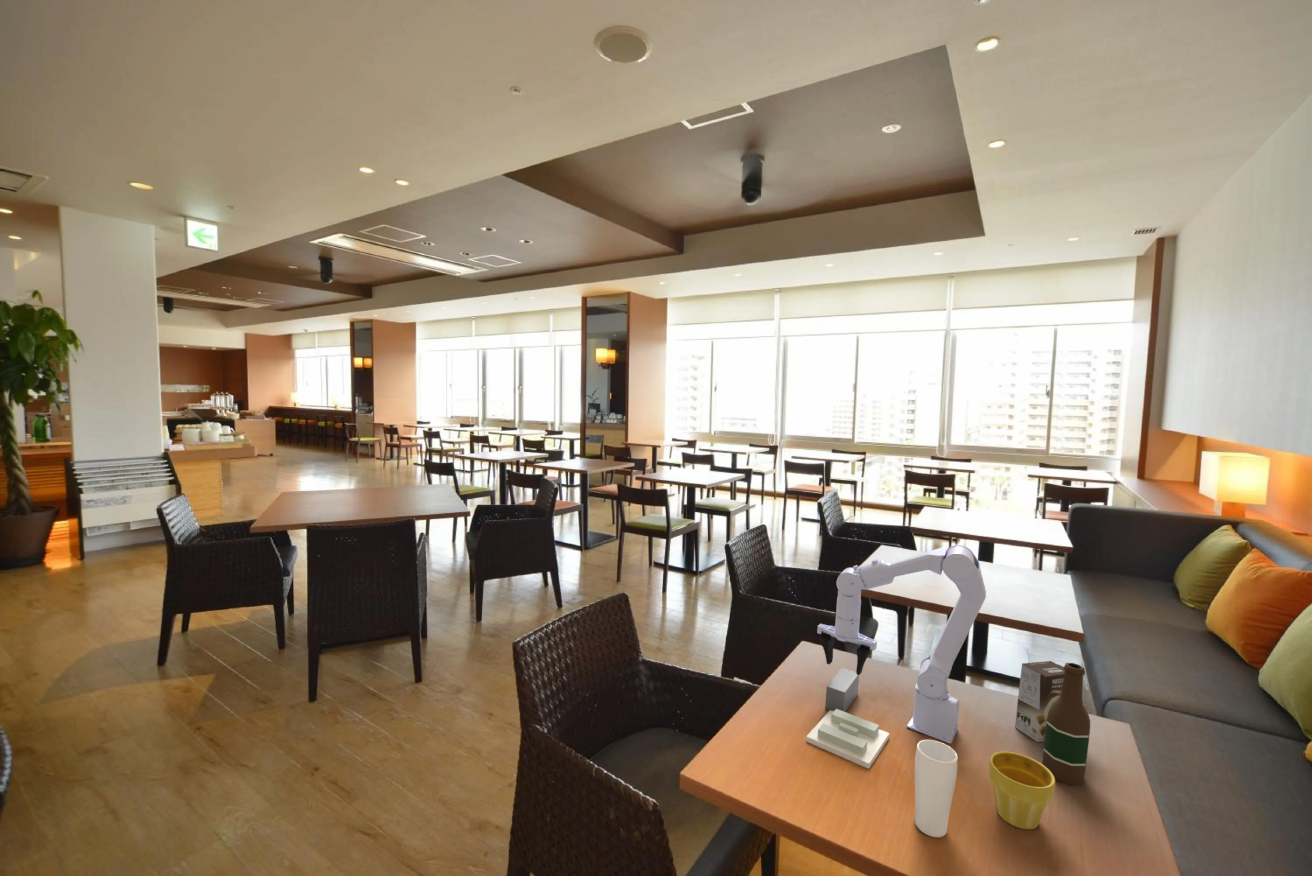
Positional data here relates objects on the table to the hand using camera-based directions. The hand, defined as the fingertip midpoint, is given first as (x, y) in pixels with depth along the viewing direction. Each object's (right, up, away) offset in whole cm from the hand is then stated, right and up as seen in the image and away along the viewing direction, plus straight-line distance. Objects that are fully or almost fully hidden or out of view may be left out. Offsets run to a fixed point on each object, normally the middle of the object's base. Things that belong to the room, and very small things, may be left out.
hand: (844, 668), depth 145 cm
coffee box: (+44, -12, -10) cm, 46 cm away
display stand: (-4, -10, -15) cm, 19 cm away
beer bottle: (+38, -13, -24) cm, 47 cm away
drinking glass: (+2, -13, -41) cm, 43 cm away
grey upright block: (0, -9, +1) cm, 9 cm away
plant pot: (+20, -13, -37) cm, 44 cm away
